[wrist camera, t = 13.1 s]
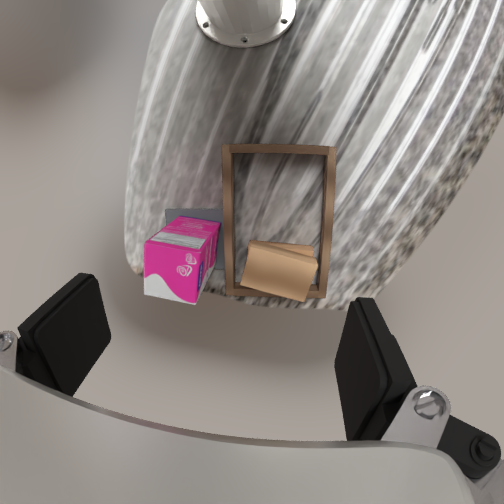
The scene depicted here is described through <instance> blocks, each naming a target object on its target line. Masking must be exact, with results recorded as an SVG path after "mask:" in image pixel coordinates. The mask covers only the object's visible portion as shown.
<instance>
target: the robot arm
mask: <svg viewBox="0 0 504 504" xmlns="http://www.w3.org/2000/svg"><path fill="white" fill-rule="evenodd" d="M295 13H296V1H295V0H198V1H197V4H196V9H195V14H196V20H197V23H198V25H199V26H200V28H201V30H202V31H203V32H204V33H205V34H206V35H207V36H208V37H209V38H211V39H212V40H214V41H216V42H218V43H220V44H223V45H226V46H231V47H238V48H248V47H255V46H260V45H263V44H266V43H269V42H271V41H273V40H275V39H277V38H278V37H280V36H281V35H283V34H284V33H285V32H286V31H287V30H288V29H289V27H290V26H291V24H292V23H293V20H294V17H295ZM282 23H286V24H282ZM207 26H209V27H207ZM206 27H207V28H206ZM244 41H247V42H246V43H243V42H244ZM18 330H19V333H20V335H21V337H20V338H19V339H18V337H17V335H16V334H15V333H14V332H12V331H3V332H0V504H504V460H501V458H500V457H501V449H500V446H499V444H498V442H497V441H496V439H495V438H494V437H492V436H491V435H489V434H486V433H485V432H483V431H481V430H479V429H477V428H475V427H473V426H471V425H469V424H467V423H465V422H463V421H461V420H459V419H457V418H455V417H453V416H451V415H450V411H451V405H450V401H449V399H448V398H447V396H446V395H445V394H444V393H443V392H442V391H440V390H438V389H437V388H434V387H431V386H420V387H417V384H416V382H415V380H414V377H413V375H412V373H411V371H410V368H409V366H408V364H407V362H406V360H405V357H404V355H403V353H402V351H401V349H400V347H399V345H398V343H397V340H396V338H395V337H394V335H392V334H391V333H390V331H389V329H388V327H387V325H386V323H385V321H384V319H383V317H382V315H381V313H380V311H379V309H378V307H377V305H376V303H375V301H374V299H373V298H361V297H357V298H356V300H355V301H351V302H350V305H349V309H348V313H347V317H346V321H345V325H344V329H343V333H342V337H341V340H340V344H339V348H338V351H337V354H336V358H335V372H336V378H337V383H338V389H339V395H340V400H341V406H342V412H343V418H344V425H345V431H346V438H347V441H285V440H267V439H253V438H242V437H234V436H225V435H218V434H211V433H205V432H199V431H193V430H187V429H182V428H177V427H172V426H167V425H163V424H158V423H154V422H150V421H146V420H143V419H138V418H135V417H131V416H128V415H124V414H120V413H118V412H114V411H111V410H108V409H104V408H101V407H99V406H96V405H93V404H90V403H87V402H84V401H82V400H79V399H76V398H73V395H74V394H75V392H76V391H77V389H78V388H79V386H80V384H81V383H82V382H83V380H84V379H85V377H86V376H87V374H88V373H89V371H90V370H91V368H92V367H93V365H94V364H95V362H96V361H97V360H98V358H99V357H100V355H101V354H102V353H103V351H104V349H105V348H106V347H107V345H108V344H109V343H110V340H111V332H110V329H109V325H108V321H107V317H106V313H105V309H104V305H103V301H102V297H101V293H100V288H99V283H98V280H97V279H96V278H95V277H94V275H92V274H86V273H79V274H78V275H76V276H75V277H74V278H73V279H71V280H70V281H69V282H68V283H67V284H66V285H64V286H63V287H62V288H61V289H60V290H59V291H57V292H56V293H55V294H54V295H53V296H52V297H50V298H49V299H48V300H47V301H46V302H45V303H44V304H42V305H41V306H40V307H39V308H38V309H37V310H36V311H35V312H34V313H33V314H31V315H30V316H29V317H28V318H27V319H26V320H25V321H24V322H23V323H22V324H21V325H20V326H19V327H18Z"/></svg>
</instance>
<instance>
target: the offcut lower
mask: <svg viewBox="0 0 504 504" xmlns="http://www.w3.org/2000/svg"><path fill="white" fill-rule="evenodd" d="M259 242H262V243H266V244H269V245H273V246H276V247H280V248H283V249H287V250H290V251H294V252H297V253H301V254H304V255H308V256H311V257H313V255H314V250H313V247H312V246H308V245H298V244H287V243H277V242H266V241H259ZM251 244H252V240H250V241H249V245H248V254H249V251H250V247H251Z"/></svg>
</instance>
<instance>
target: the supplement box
mask: <svg viewBox="0 0 504 504" xmlns="http://www.w3.org/2000/svg"><path fill="white" fill-rule="evenodd" d="M220 226H221V222H216V221H210V220H205V219H199V218H193V217H186V216H179V217H177V218H176V219H175V220H173V221H172V222H171V223H169V224H168V225H167V226H165V227H164V228H163V229H162V230H160V231H159V232H158V233H156V234H155V235H154V236H152V237H151V238H150V239H149V240H147V241H146V242H145V244H144V294H145V295H149V296H155V297H160V298H164V299H169V300H173V301H178V302H183V303H188V304H192V305H196V303H197V301H198V299H199V297H200V295H201V293H202V291H203V289H204V287H205V285H206V283H207V281H208V279H209V277H210V274H211V272H212V270H213V268H214V266H215V264H216V257H217V246H218V239H219V231H220Z"/></svg>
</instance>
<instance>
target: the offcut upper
mask: <svg viewBox="0 0 504 504" xmlns="http://www.w3.org/2000/svg"><path fill="white" fill-rule="evenodd" d="M317 267H318V264H317V260H316V258H315V257H311V256H308V255H304V254H301V253H297V252H294V251H290V250H287V249H283V248H280V247H276V246H273V245H269V244H266V243H262V242H259V241H255V240H252V244H251V247H250V251H249V254H248V258H247V261H246V265H245V269H244V272H243V276H242V279H241V283H240V285H242V286H246V287H249V288H253V289H257V290H260V291H264V292H267V293H271V294H275V295H279V296H282V297H286V298H290V299H294V300H297V301H301V302H304V301H305V298H306V296H307V293H308V291H309V288H310V286H311V283H312V280H313V278H314V275H315V273H316V270H317Z"/></svg>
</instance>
